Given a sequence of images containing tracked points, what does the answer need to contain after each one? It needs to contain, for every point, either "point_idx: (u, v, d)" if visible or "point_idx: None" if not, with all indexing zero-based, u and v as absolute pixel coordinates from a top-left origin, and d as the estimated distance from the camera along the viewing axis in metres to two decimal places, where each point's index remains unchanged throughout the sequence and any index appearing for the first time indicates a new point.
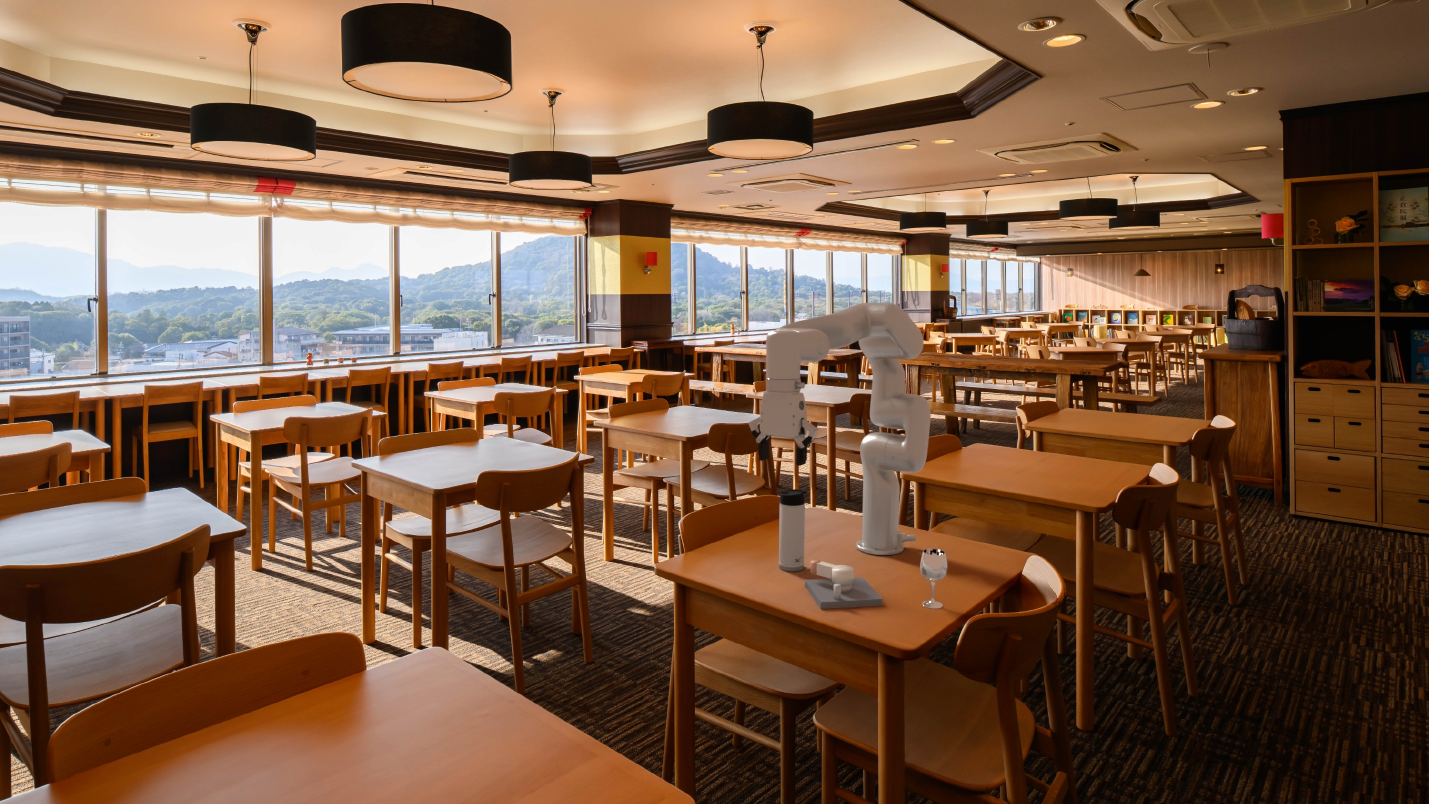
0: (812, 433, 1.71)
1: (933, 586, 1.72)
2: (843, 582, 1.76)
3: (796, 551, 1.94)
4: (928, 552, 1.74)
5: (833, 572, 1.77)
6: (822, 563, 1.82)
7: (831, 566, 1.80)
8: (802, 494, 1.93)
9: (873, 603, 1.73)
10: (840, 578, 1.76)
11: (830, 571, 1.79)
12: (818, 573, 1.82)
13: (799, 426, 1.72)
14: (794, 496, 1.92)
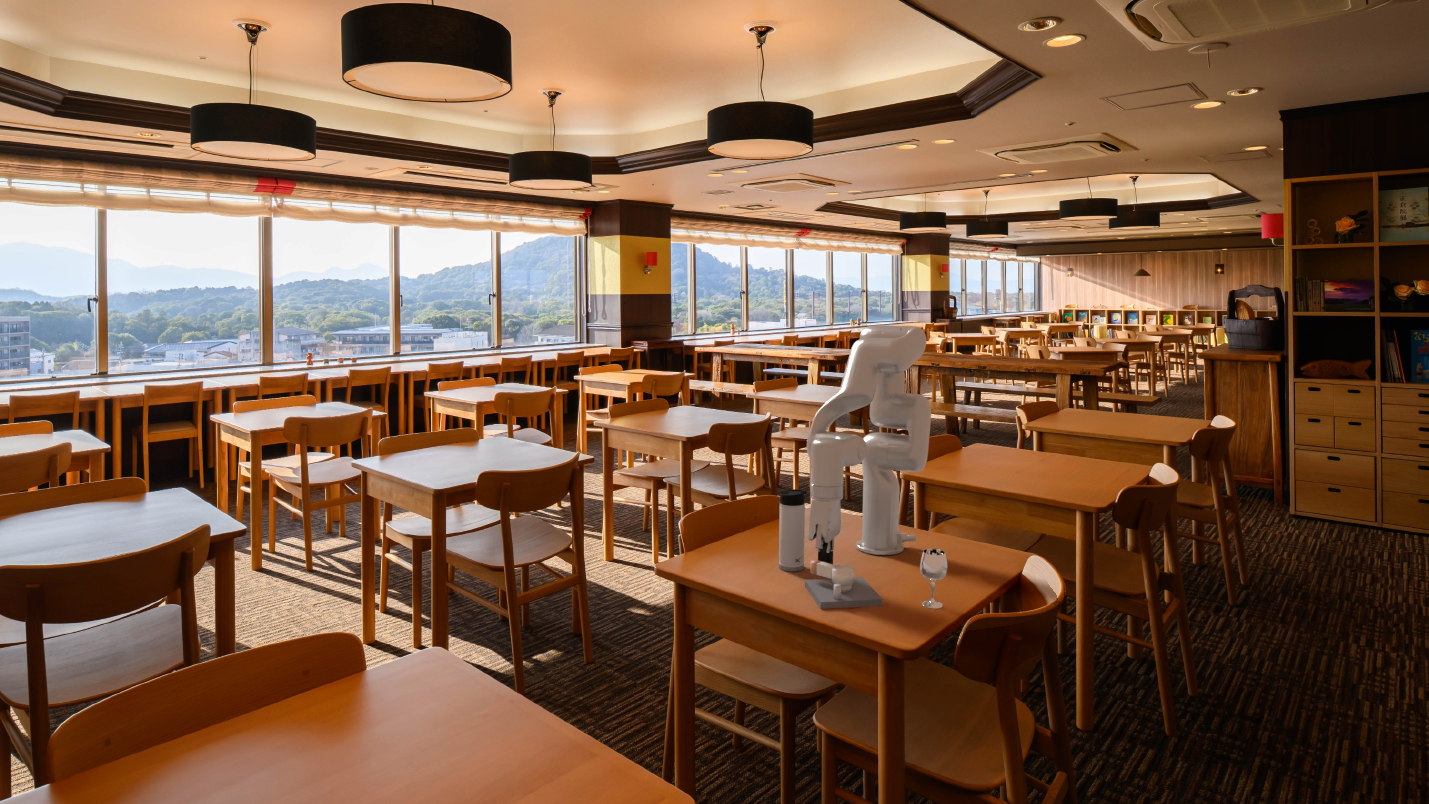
0: None
1: (933, 586, 1.72)
2: (843, 582, 1.76)
3: (796, 551, 1.94)
4: (928, 552, 1.74)
5: (833, 572, 1.77)
6: (822, 563, 1.82)
7: (831, 566, 1.80)
8: (802, 494, 1.93)
9: (873, 603, 1.73)
10: (840, 578, 1.76)
11: (830, 571, 1.79)
12: (818, 573, 1.82)
13: None
14: (794, 496, 1.92)
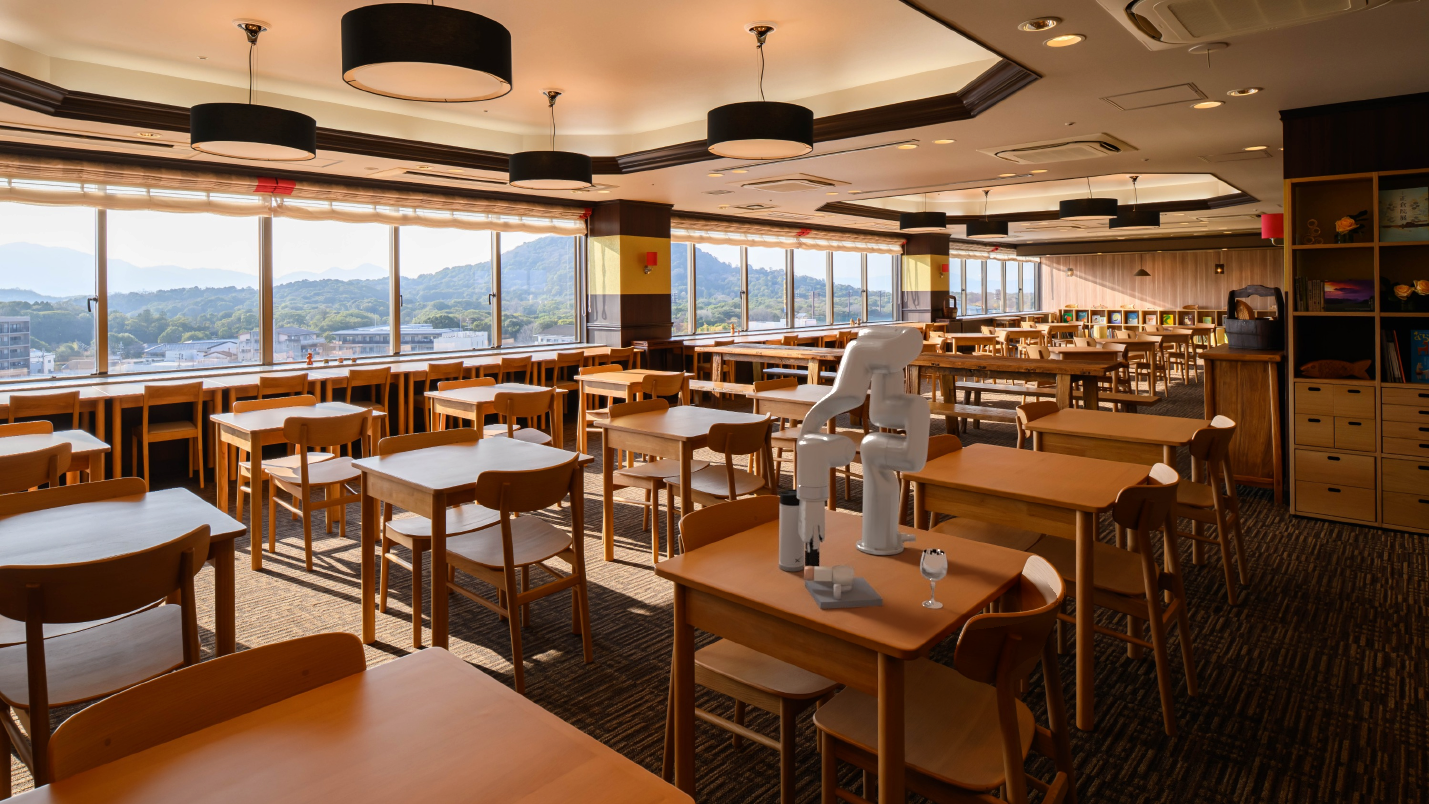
0: None
1: (933, 586, 1.72)
2: (850, 581, 1.76)
3: (796, 551, 1.94)
4: (928, 552, 1.74)
5: (838, 574, 1.76)
6: (818, 568, 1.79)
7: (830, 569, 1.78)
8: None
9: (873, 603, 1.73)
10: (847, 578, 1.76)
11: (831, 574, 1.78)
12: (816, 579, 1.78)
13: None
14: (794, 496, 1.92)
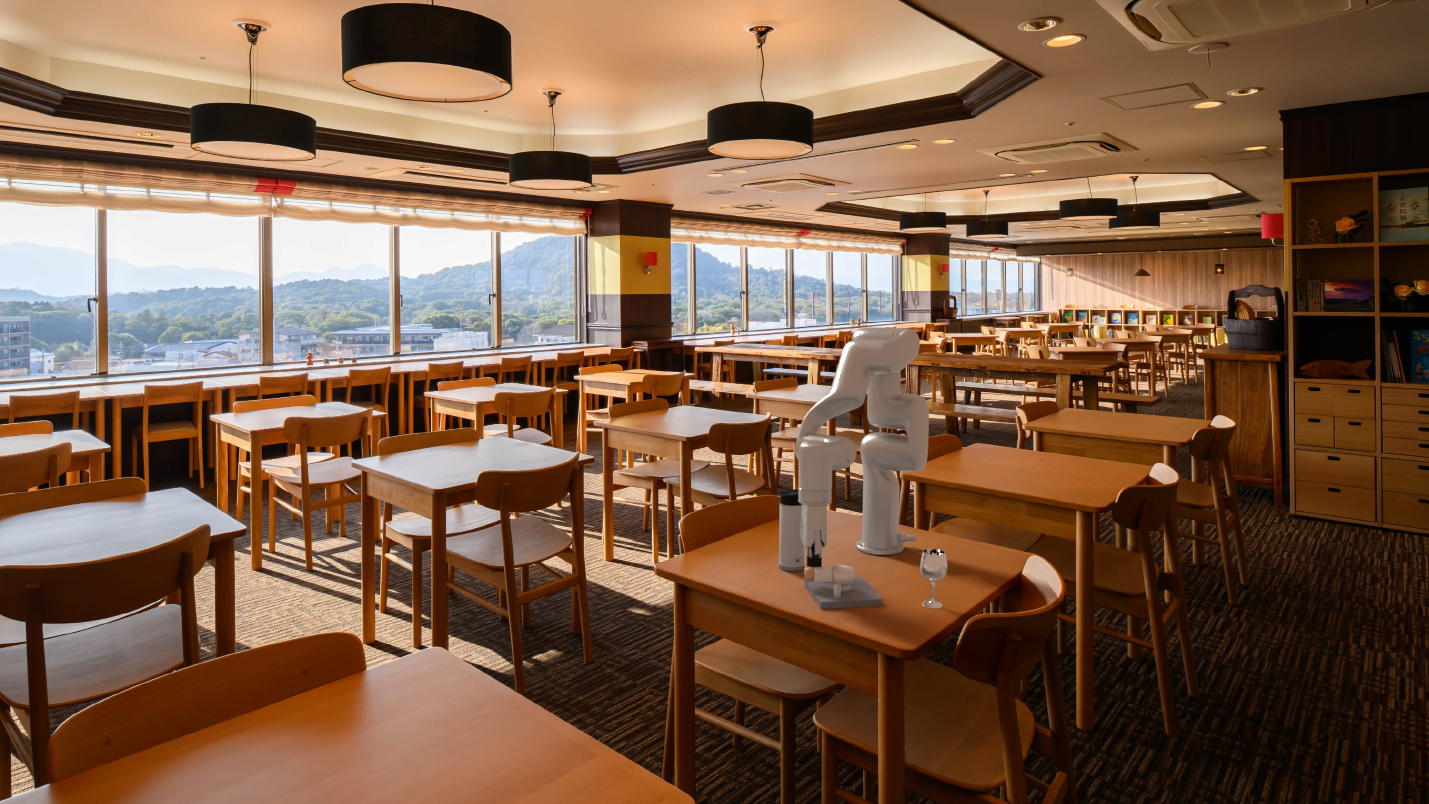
0: None
1: (933, 586, 1.72)
2: (850, 581, 1.76)
3: (796, 551, 1.94)
4: (928, 552, 1.74)
5: (839, 574, 1.76)
6: (818, 568, 1.78)
7: (830, 569, 1.78)
8: None
9: (873, 603, 1.73)
10: (848, 578, 1.76)
11: (831, 574, 1.77)
12: (816, 579, 1.78)
13: None
14: (794, 496, 1.92)
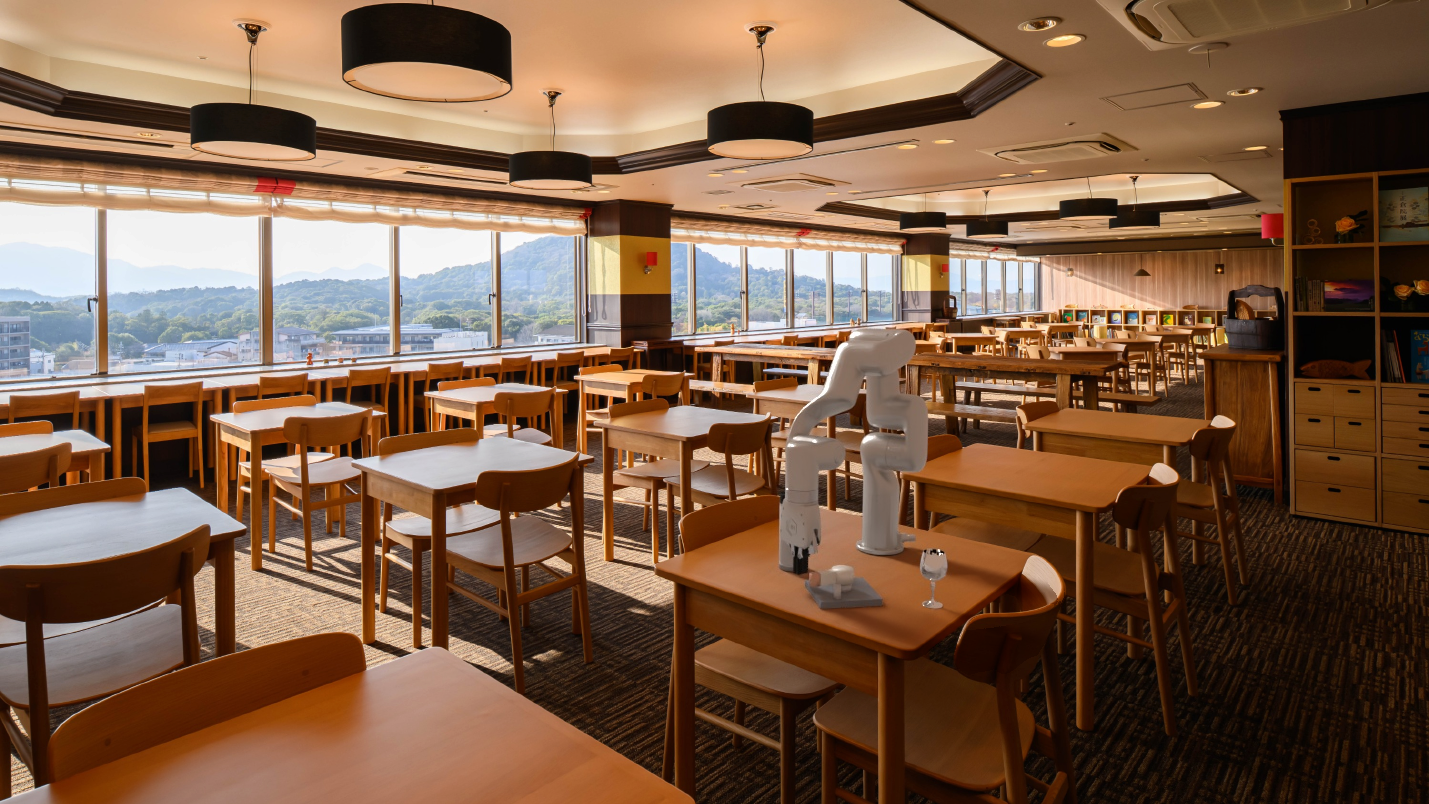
0: None
1: (933, 586, 1.72)
2: (853, 580, 1.77)
3: None
4: (928, 552, 1.74)
5: (844, 574, 1.76)
6: (822, 572, 1.76)
7: (833, 571, 1.77)
8: None
9: (873, 603, 1.73)
10: (852, 577, 1.77)
11: (835, 576, 1.76)
12: (822, 583, 1.75)
13: None
14: None
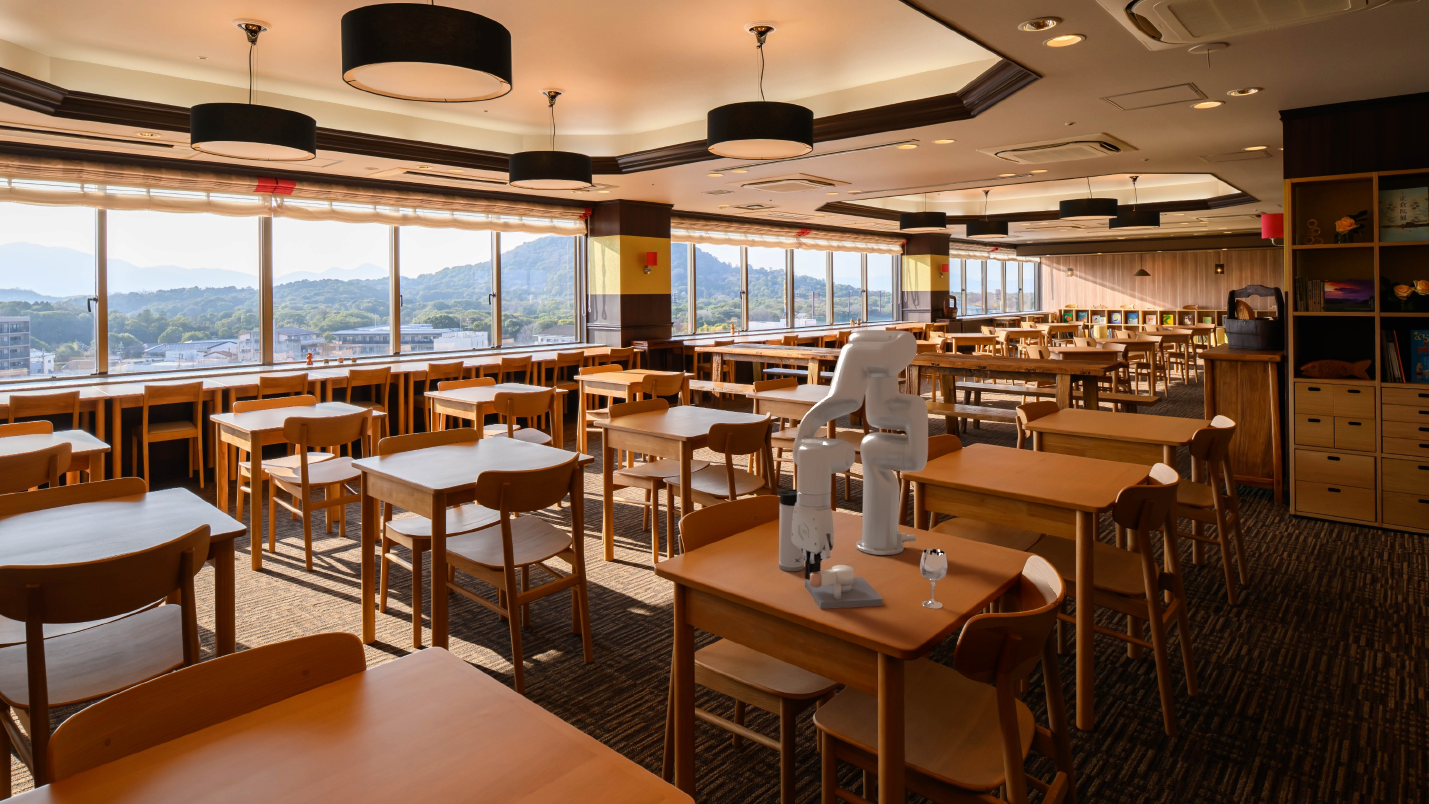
0: None
1: (933, 586, 1.72)
2: (853, 580, 1.77)
3: (796, 551, 1.94)
4: (928, 552, 1.74)
5: (845, 574, 1.76)
6: (823, 572, 1.76)
7: (833, 571, 1.76)
8: None
9: (873, 603, 1.73)
10: (852, 577, 1.77)
11: (835, 576, 1.76)
12: (823, 584, 1.75)
13: None
14: (794, 496, 1.92)
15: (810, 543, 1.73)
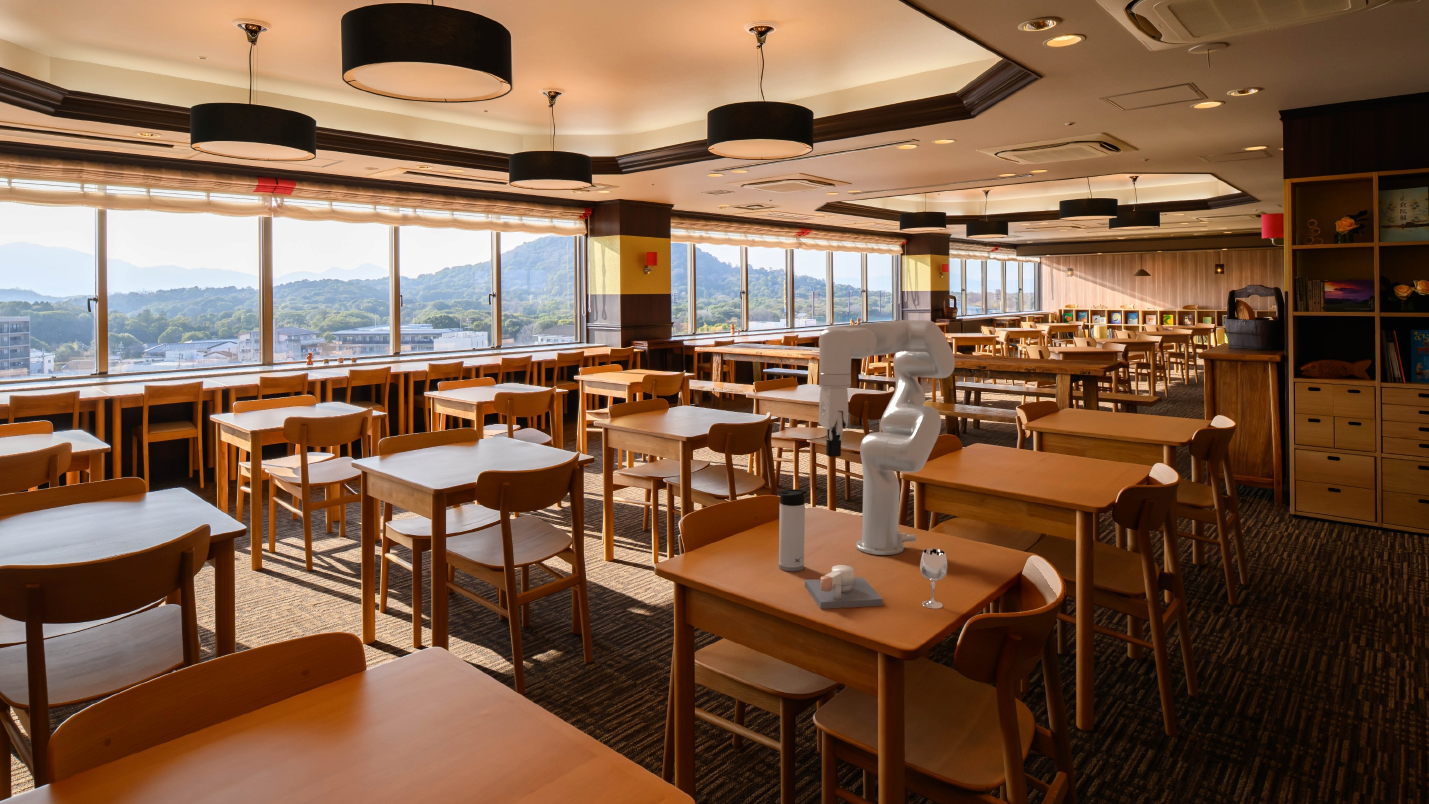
0: None
1: (933, 586, 1.72)
2: None
3: (796, 551, 1.94)
4: (928, 552, 1.74)
5: (849, 574, 1.76)
6: (831, 575, 1.74)
7: (838, 572, 1.76)
8: (802, 494, 1.93)
9: (873, 603, 1.73)
10: (853, 575, 1.78)
11: (840, 577, 1.76)
12: (833, 586, 1.73)
13: None
14: (794, 496, 1.92)
15: (825, 420, 1.87)
